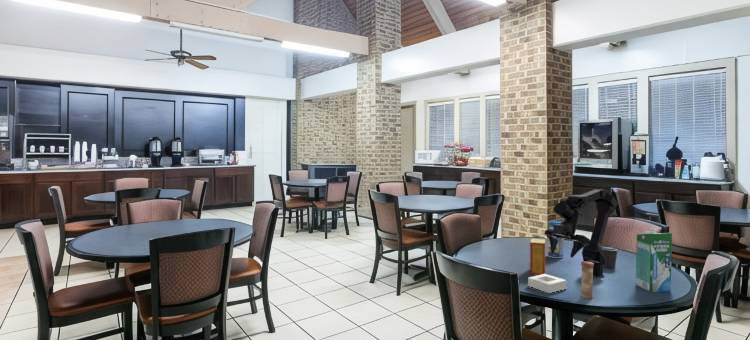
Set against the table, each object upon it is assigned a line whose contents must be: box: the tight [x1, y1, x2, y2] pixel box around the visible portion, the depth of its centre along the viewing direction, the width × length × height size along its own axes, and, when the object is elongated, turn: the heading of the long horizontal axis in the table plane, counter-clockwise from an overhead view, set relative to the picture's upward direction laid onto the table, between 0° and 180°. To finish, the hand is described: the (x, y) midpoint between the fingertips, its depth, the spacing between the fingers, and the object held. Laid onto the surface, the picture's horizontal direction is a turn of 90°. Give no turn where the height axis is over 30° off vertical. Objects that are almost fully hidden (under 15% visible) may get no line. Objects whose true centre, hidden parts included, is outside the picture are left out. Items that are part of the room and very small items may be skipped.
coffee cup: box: [602, 246, 619, 269], centre depth 207 cm, size 8×8×10 cm
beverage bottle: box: [547, 220, 565, 259], centre depth 228 cm, size 8×8×20 cm
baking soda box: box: [529, 238, 546, 275], centre depth 200 cm, size 10×6×16 cm
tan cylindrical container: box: [580, 261, 594, 300], centre depth 166 cm, size 5×5×14 cm
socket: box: [527, 273, 567, 294], centre depth 177 cm, size 11×11×4 cm
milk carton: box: [635, 230, 673, 293], centre depth 175 cm, size 9×9×25 cm
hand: (561, 255), depth 180 cm, fingers open, 9 cm apart
